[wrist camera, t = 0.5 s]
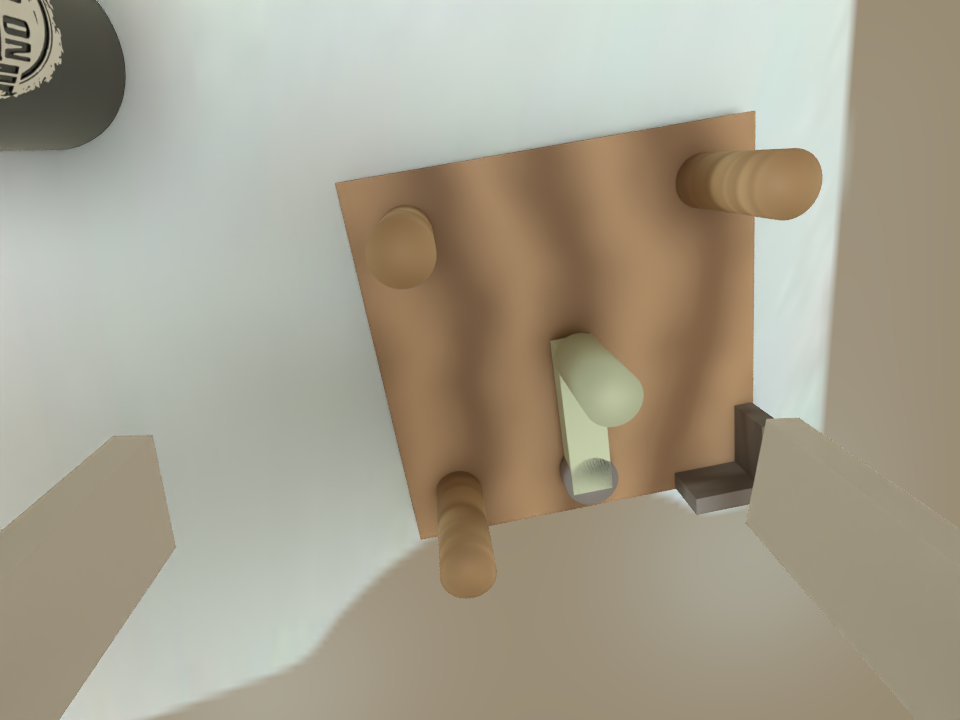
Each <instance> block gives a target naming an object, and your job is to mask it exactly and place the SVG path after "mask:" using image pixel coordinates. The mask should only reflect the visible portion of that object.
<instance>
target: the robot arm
mask: <svg viewBox="0 0 960 720" xmlns="http://www.w3.org/2000/svg"><path fill="white" fill-rule="evenodd" d="M746 524H747V526H748V527H749V528H750V529H751V530H752V531H753V532H754V534H755V535H756V536H757V537H758V538H759V539H760V541H761V542H762V543H763V544H764V545H765V546H766V548H767V549H768V550H769V551H770V552H771V553H772V554H773V556H774V557H775V558H776V559H777V560H778V561H779V562H780V564H781V565H782V566H783V567H784V568H785V569H786V570H787V572H788V573H789V574H790V575H791V576H792V577H793V579H794V580H795V581H796V582H797V583H798V584H799V585H800V586H801V588H802V589H803V590H804V591H805V592H806V593H807V595H808V596H809V597H810V598H811V599H812V600H813V602H814V603H815V604H816V605H817V606H818V607H819V608H820V610H821V611H822V612H823V613H824V614H825V615H826V616H827V617H828V619H829V620H830V621H831V622H832V623H833V625H834V626H835V627H836V628H837V629H838V630H839V631H840V633H841V634H842V635H843V636H844V637H845V638H846V639H847V641H848V642H849V643H850V644H851V645H852V646H853V648H854V649H855V650H856V651H857V652H858V653H859V654H860V656H861V657H862V658H863V659H864V660H865V661H866V662H867V664H868V665H869V666H870V667H871V668H872V669H873V671H874V672H875V673H876V674H877V675H878V676H879V677H880V678H881V680H882V681H883V682H884V683H885V684H886V685H887V687H888V688H889V689H890V690H891V691H892V692H893V694H894V695H895V696H896V697H897V698H898V699H899V700H900V702H901V703H902V704H903V705H904V706H905V707H906V708H907V709H908V711H909V712H910V713H911V714H912V715H913V717H914V718H915V719H916V720H960V529H958V528H957V527H956V526H954V525H953V524H951V523H950V522H949V521H947V520H946V519H944V518H943V517H941V516H940V515H938V514H937V513H936V512H934V511H933V510H931V509H930V508H928V507H927V506H926V505H924V504H922V503H921V502H920V501H918V500H917V499H915V498H914V497H913V496H911V495H909V494H908V493H907V492H905V491H904V490H902V489H901V488H900V487H898V486H897V485H895V484H894V483H892V482H891V481H889V480H888V479H887V478H885V477H884V476H882V475H881V474H879V473H877V472H876V471H875V470H874V469H872V468H870V467H869V466H868V465H866V464H865V463H863V462H862V461H860V460H859V459H858V458H856V457H855V456H853V455H852V454H850V453H849V452H847V451H846V450H845V449H843V448H842V447H840V446H839V445H837V444H836V443H835V442H833V441H832V440H830V439H829V438H827V437H826V436H824V435H823V434H822V433H820V432H819V431H817V430H816V429H814V428H813V427H811V426H810V425H809V424H807V423H806V422H804V421H803V420H801V419H800V418H780V419H766V423H765V428H764V433H763V439H762V444H761V449H760V454H759V459H758V464H757V469H756V474H755V479H754V484H753V489H752V494H751V499H750V504H749V509H748V514H747V520H746ZM175 548H176V546H175V541H174V537H173V532H172V527H171V522H170V517H169V512H168V508H167V503H166V498H165V493H164V488H163V483H162V479H161V474H160V469H159V464H158V459H157V455H156V450H155V445H154V440H153V435H142V436H113V437H112V438H111V439H109V440H108V441H107V442H106V443H105V444H104V445H102V446H101V447H100V448H99V449H98V450H96V451H95V452H94V453H93V454H92V455H91V456H89V457H88V458H87V459H86V460H85V461H83V462H82V463H81V464H80V465H79V466H78V467H76V468H75V469H74V470H73V471H72V472H70V473H69V474H68V475H67V476H66V477H65V478H63V479H62V480H61V481H60V482H59V483H57V484H56V485H55V486H54V487H53V488H52V489H50V490H49V491H48V492H47V493H46V494H44V495H43V496H42V497H41V498H40V499H39V500H37V501H36V502H35V503H34V504H33V505H31V506H30V507H29V508H28V509H27V510H26V511H24V512H23V513H22V514H21V515H20V516H18V517H17V518H16V519H15V520H14V521H13V522H11V523H10V524H9V525H8V526H7V527H5V528H4V529H3V530H2V531H1V532H0V720H59V719H60V718H61V716H62V715H63V713H64V712H65V710H66V709H67V708H68V706H69V705H70V703H71V702H72V700H73V699H74V697H75V696H76V694H77V693H78V691H79V690H80V688H81V687H82V685H83V684H84V682H85V681H86V679H87V678H88V676H89V675H90V673H91V672H92V670H93V669H94V668H95V666H96V665H97V663H98V662H99V660H100V659H101V657H102V656H103V654H104V653H105V651H106V650H107V648H108V647H109V645H110V644H111V642H112V641H113V639H114V638H115V636H116V635H117V633H118V632H119V631H120V629H121V628H122V626H123V625H124V623H125V622H126V620H127V619H128V617H129V616H130V614H131V613H132V611H133V610H134V608H135V607H136V605H137V604H138V602H139V601H140V599H141V598H142V596H143V595H144V594H145V592H146V591H147V589H148V588H149V586H150V585H151V583H152V582H153V580H154V579H155V577H156V576H157V574H158V573H159V571H160V570H161V568H162V567H163V565H164V564H165V562H166V561H167V559H168V558H169V557H170V555H171V554H172V552H173V551H174V549H175Z"/></svg>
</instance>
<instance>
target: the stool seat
mask: <svg viewBox="0 0 960 720" xmlns="http://www.w3.org/2000/svg"><path fill="white" fill-rule="evenodd" d="M335 185H336V189H337V193H338V198H339V202H340V206H341V210H342V214H343V218H344V223H345V227H346V231H347V235H348V239H349V243H350V247H351V252H352V256H353V260H354V264H355V268H356V272H357V276H358V281H359V285H360V289H361V293H362V297H363V301H364V306H365V310H366V314H367V318H368V322H369V326H370V330H371V335H372V339H373V343H374V347H375V351H376V355H377V360H378V364H379V368H380V372H381V376H382V380H383V384H384V389H385V393H386V397H387V401H388V405H389V409H390V413H391V418H392V422H393V426H394V430H395V434H396V438H397V443H398V447H399V451H400V455H401V459H402V463H403V467H404V472H405V476H406V480H407V484H408V488H409V492H410V497H411V501H412V505H413V509H414V513H415V517H416V521H417V526H418V530H419V534H420V538H421V539H426V538H431V537H436V536H438V539H439V559H440V580H441V584H442V586H443V587H444V589H445V590H446V591H447V592H448V593H450V594H451V595H453V596H456V597H459V598H474V597H477V596H480V595H482V594H484V593H485V592H487V591H488V590H489V589H490V588H491V587H492V586H493V584H494V582H495V580H496V576H497V570H496V565H495V559H494V554H493V549H492V544H491V538H490V532H489V528H488V526H491V525H497V524H502V523H506V522H511V521H517V520H522V519H526V518H532V517H536V516H542V515H547V514H551V513H556V512H562V511H567V510H572V509H576V508H582V507H587V506H592V505H597V504H601V503H607V502H612V501H617V500H622V499H627V498H632V497H637V496H642V495H647V494H652V493H657V492H662V491H667V490H672V489H677V490H678V492H679V493H680V494H681V495H682V497H683V498H684V499H685V500H686V502H687V503H688V504H689V505H690V507H691V508H692V509H693V511H694V512H695V513H696V514H697V515H698V514H703V513H708V512H713V511H718V510H723V509H728V508H733V507H738V506H743V505H748V504H750V499H751V494H752V489H753V484H754V479H755V474H756V469H757V464H758V459H759V454H760V449H761V444H762V439H763V433H764V428H765V423H766V419H774V418H773V417H771V416H770V415H768V414H767V413H766V412H764V411H763V410H761V409H760V408H759V407H757V406H756V405H754V404H753V330H754V216H755V217H762V218H769V219H775V220H790V219H793V218H796V217H798V216H800V215H802V214H803V213H804V212H806V211H807V210H808V209H809V208H810V207H811V206H812V204H813V203H814V202H815V200H816V198H817V197H818V194H819V192H820V189H821V185H822V170H821V166H820V164H819V162H818V160H817V158H816V157H815V156H814V155H813V154H812V153H810V152H808V151H806V150H804V149H799V148H790V149H769V150H755V111H750V112H744V113H738V114H733V115H727V116H721V117H715V118H709V119H704V120H698V121H692V122H686V123H680V124H675V125H669V126H663V127H657V128H652V129H646V130H640V131H634V132H628V133H623V134H617V135H611V136H605V137H600V138H594V139H588V140H582V141H576V142H571V143H565V144H559V145H553V146H548V147H542V148H536V149H530V150H524V151H519V152H513V153H507V154H501V155H496V156H490V157H484V158H478V159H472V160H467V161H461V162H455V163H449V164H444V165H438V166H432V167H426V168H420V169H415V170H409V171H403V172H397V173H392V174H386V175H380V176H374V177H368V178H363V179H357V180H351V181H345V182H340V183H335ZM576 333H587V334H589V333H591V334H592V335H593V336H594V337H596V338H597V339H598V340H599V341H600V342H601V343H602V344H603V345H604V346H605V347H606V348H607V349H608V350H609V351H610V352H611V353H612V354H613V355H614V356H615V357H616V358H617V359H618V360H619V361H620V362H621V363H622V364H623V365H624V366H625V367H626V368H627V369H628V370H629V371H630V372H631V373H632V374H633V375H634V376H635V377H636V378H637V379H638V380H639V381H640V383H641V385H642V388H643V392H644V398H643V403H642V406H641V408H640V410H639V412H638V413H637V414H636V415H635V416H634V418H632V419H631V420H630V421H628V422H627V423H625V424H623V425H620V426H616V427H607V430H608V441H609V452H610V460H611V462H612V463H613V465H614V466H615V468H616V470H617V472H618V484H617V487H616V489H615V491H614V492H613V494H612V495H611V496H610V497H608V498H607V499H606V500H604V501H602V502H600V503H596V504H582V503H579V502H577V501H575V500H574V499H572V498H571V496H570V495H569V493H568V491H567V489H566V487H565V485H564V483H563V480H562V478H561V475H560V465H561V462H562V460H563V458H564V450H563V442H562V433H561V425H560V417H559V409H558V401H557V393H556V385H555V377H554V369H553V361H552V353H551V345H550V341H551V340H557V339H562V338H566V337H568V336H570V335H572V334H576Z"/></svg>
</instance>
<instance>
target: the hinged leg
mask: <svg viewBox="0 0 960 720" xmlns="http://www.w3.org/2000/svg"><path fill="white" fill-rule="evenodd" d="M550 345H551V353H552V361H553V369H554V377H555V385H556V393H557V401H558V409H559V417H560V425H561V433H562V442H563V450H564V458H563V460H562V462H561V465H560V475H561V478H562V480H563V483H564V485H565V487H566V489H567V491H568V493H569V495H570V496H571V498H572V499H574V500H575V501H577V502H579V503H582V504H596V503H600V502H602V501H604V500H606V499H607V498H608V497H610V496H611V495H612V494H613V492H614V491H615V489H616V487H617V484H618V472H617V470H616V468H615V466H614V465H613V463H612V462H611V460H610V452H609V441H608V430H607V427H616V426H620V425H623V424H625V423H627V422H628V421H630V420H631V419H632V418H634V416H635V415H636V414H637V413H638V412H639V410H640V408H641V406H642V403H643V398H644V392H643V388H642V385H641V383H640V381H639V380H638V379H637V378H636V377H635V376H634V375H633V374H632V373H631V372H630V371H629V370H628V369H627V368H626V367H625V366H624V365H623V364H622V363H621V362H620V361H619V360H618V359H617V358H616V357H615V356H614V355H613V354H612V353H611V352H610V351H609V350H608V349H607V348H606V347H605V346H604V345H603V344H602V343H601V342H600V341H599V340H598V339H597V338H596V337H594V336H593V335H592V334H591V333H589V334H587V333H576V334H572V335H570V336H568V337H566V338H562V339H557V340H551V341H550Z"/></svg>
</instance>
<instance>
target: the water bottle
mask: <svg viewBox="0 0 960 720" xmlns="http://www.w3.org/2000/svg"><path fill="white" fill-rule="evenodd" d="M124 88H125V65H124V58H123V53H122V50H121V46H120V43H119V40H118V37H117V35H116V32H115V30H114V28H113V26H112V24H111V22H110V20H109V18H108V17H107V15H106V13H105V12H104V10H103V9H102V8H101V6H100V5H99V3H98V2H97V1H96V0H0V151H4V150H64V149H70V148H74V147H77V146H80V145H83V144H85V143H87V142H89V141H91V140H93V139H94V138H96V137H97V136H99V135H100V134H101V133H102V132H103V131H104V130H105V129H106V128H107V127H108V126H109V125H110V123H111V122H112V121H113V119H114V117H115V116H116V114H117V112H118V110H119V107H120V105H121V102H122V98H123V94H124Z"/></svg>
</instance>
